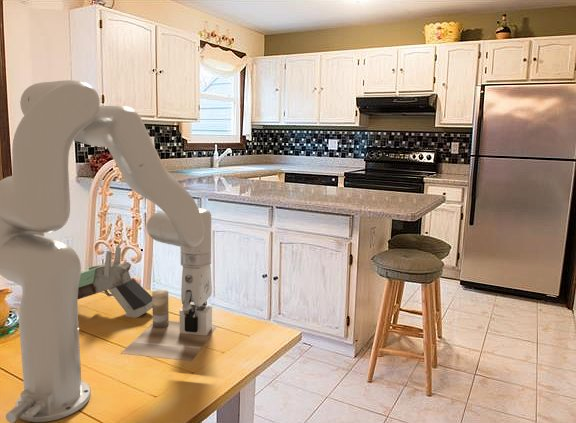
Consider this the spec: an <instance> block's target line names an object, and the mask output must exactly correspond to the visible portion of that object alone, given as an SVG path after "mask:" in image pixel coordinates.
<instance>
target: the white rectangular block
mask: <svg viewBox="0 0 576 423" xmlns="http://www.w3.org/2000/svg"><path fill="white" fill-rule="evenodd" d="M191 304H192V305H194V303H191ZM190 309H191V310H192V311H193V310H194V307H190ZM196 317H198V331H197V332H196V333H195V332H186V331H185V317H184V312H183V310H182V307H181V308H180V309H179V322H180V333H186V334H196V335H207V334H208V333H209V331H210V330H211V329H212V325H213V306H212V305H206V306H204V305H202V306H200V307H198V306H197V314H196Z"/></svg>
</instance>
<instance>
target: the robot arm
mask: <svg viewBox="0 0 576 423" xmlns="http://www.w3.org/2000/svg"><path fill="white" fill-rule="evenodd" d="M19 103H20V109H21V112H22V114H23V116H22V117H21V120H20V121H19V123H18V126H17V127H16V130H15V132H14V135H13V138H12V139H13V140H12V150H11V151H12V152H11V153H12V154H11V155H12V159H11V160H12V164H11V166H12V168H11V170H12V172H11V173H12V175H9V176H7V177H4V178H3V179H1V180H0V277H2V278H4V279H6V280H8V281H10V282H13V283H14V284H17V285H18V286H20V287H21V289H22V295H21V299H20V304H19V309H18V328H19V340H20V341H19V342H20V352H21V354H20V355H21V364H22V366H21V367H22V381H23V391H21V392H20V396H19V397H18V398H17V400H16V402H15V406H14V407H13V408H12V409H11V410H9V411H8V412H7V413H6V414H5V419H6V421H7V422H8V423H15V422H16V421H17V420H19V419H21V420H23V421H26V422H30V423H31V422H32V423H46V422H51V421H57V420H60V419H63V418H66V417H68V416H70V415H72V414H74V413H76V412H78V411H79V410H81V409H82V408H83V407H85V406H86V405H87V403H88V402H89V400H90V399H91V396H92V392H91V391H92V390H91V386H90V385H89V384H88V383H87V382H85V381H83V380H82V371H81V370H82V366H81V351H80V350H81V349H80V348H81V346H80V327H79V326H80V325H79V306H78V304H79V303H78V301H79V299H78V288H79V282H80V276H81V272H82V264H81V260H80V257H79V255H78V254H77V252H76V251H75V250H74V249H73V247H71V246H70V245H68V244H66V243H65V242H62V241H61V240H57V239H54V238H51V237H47V236H45V233H52V232H56V231H59V230H61V229H62V228H64V226H65V225H66V224H67V223H68V220H69V218H70V213H71V195H70V194H71V192H70V177H69V175H70V173H69V158H70V157H69V156H70V150H71V148H72V147H71V146H72V145H73V142H74V141H75V142H79V143H81V144H85V145H89V146H92V147H99V148H107V150H108V151H109V153H110V155H111V157H112V159H113V160H114V162H115V164H116V167H117V169H118V170H119V171H120V173H121V176H122V177H123V179H124V182H125V183H126V185H127V187H129V188H130V189H131V190H133V191H134V192H135V193H137V194H138V195H140V196H141V197H142V198H145V199H146V200H148V201H150V202H151V203H153V204H154V205H155V206H157V207H159V208H160V209H161V210H160V211H157V212H154V214H152V215H151V216H150V217H149V219H148V220H147V222H146V232H147V234H148V236H149V237H150V238H151V239H152V240H154V241H156V242H159V243H162V244H166V245H171V246H176V247H180V249H179V250H180V253H179V254H180V266H182V271H181V288H180V289H181V292H180V293H181V294H180V295H181V296H180V300H181V304H182V307H181V308H182V310H183V312H184V317H185V331H186V332H195V333H196V332H197V331H198V317H196V314H197V306H198V307H200V306H202V305H204V306H208V299H210V297H211V296H212V293H213V287H212V284H213V283H212V282H213V281H212V269H211V264H212V214H211V211H210V210H209V209H206V208H203V207H202V208H201V207H200V208H199V207H198V205H197V203H196V201H195V199H194V198H193V196H192V195H191V193H189V191H188V190H187V189H186V188H185V187H184V186H183V185H182V184H181V183H180V182H179V181H178V180H177V179H176V178H175V176H173V175H172V174H171V173H170V172H169V171H167V169H166V167H165V166H164V164H163V163H162V160H161V157H160V156H159V153H158V152H157V149H156V148H155V145H154V142H153V140H152V138H151V136H150V134H149V132H148V130H147V128H146V126H145V123H144V121H143V119H142V117H141V116H140V114H139V113H138V112H137V110H135V109H133V108H132V107H129V106H124V105H101V102H100V95H99V94H98V92H97V90H96V89H95V88H94V87H93V86H92V85H90V84H89V83H87V82H83V81H80V80H72V79H70V80H69V79H66V80H55V81H43V82H37V83H34V84H31V85H29V86H28V87H26V89H24V91H23V93H22V95H21V97H20V101H19ZM192 304H193V305H192ZM190 307H194V310H193V311H192V310H191V309H190Z"/></svg>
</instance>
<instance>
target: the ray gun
mask: <svg viewBox="0 0 576 423" xmlns="http://www.w3.org/2000/svg"><path fill="white" fill-rule="evenodd" d="M121 250H122V248H121V247H119V246H115V251H114V252H115V253H114V261H112V253H113V252H112V251H111V250H106V253H105V254H106V255H105V260H104V261H105V262H104V263H103V264H100V265H94V266H93V265H92V266H90V267H89V268H88V269H85V270H83V271H81V276H80V282H79V288H78V300H80V299H84V298H88V297H90V296H93V295H96V294H99V293H102V292H104V294H105V295H106V296H107V297H112V296H113V297H114V299H115V300H116V301H117V303H118V304H119V306H121V308H122V309H123V310H124V312H125V315H124V317H128V318H139V317H141V316H142V315H144V314H146V313H147V312H149V311H150V310H152V309H153V308H152V294H150V293H149V292H148V291H147V290H146V289H144V287H142V286H141V285H140V283H138V282H137V281H136V280H135V279H134V278H131V275H130V272H129V271H130V269H131V266H132V263H130V262H129V261H126V262H124V263H121V256H122V253H121V252H122V251H121Z"/></svg>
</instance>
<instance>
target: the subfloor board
mask: <svg viewBox="0 0 576 423" xmlns="http://www.w3.org/2000/svg"><path fill="white" fill-rule="evenodd" d="M217 327H218V325H215V324H212V329H211V330H210V331H209V333H208V334H207V335H196V334H186V333H180V321H173V320H169V325H168V326H167V327H165V328H154V327H153V323H151V324H150V325H149V326H148V327H147V328H146V329H145V330H143V332H142V333H141V334H140V335H139V336H137V337H136V338H135V339H134V340H133V341H132V342H131V343H129V345H127V346H126V347H125V349H123V350H122V351H121V353H120V354H123V355H133V356H141V357H151V358H152V357H153V358H161V359H169V360H179V361H188V362H193V360H194V359H195V358H196V356H197V355H198V354H199V352H200V351H201V349H202V348H203V347H204V346H205V344H206V342H207V341H208V340H209V339H210V337H211V336H212V334H213V333H214V331H215V330H216V329H217Z"/></svg>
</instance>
